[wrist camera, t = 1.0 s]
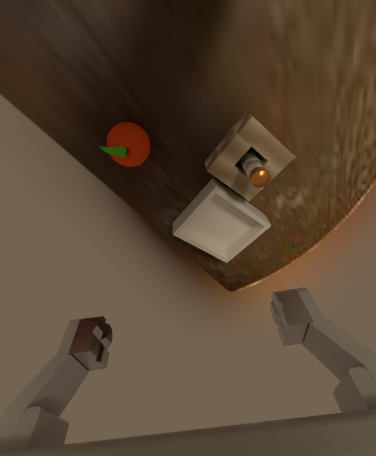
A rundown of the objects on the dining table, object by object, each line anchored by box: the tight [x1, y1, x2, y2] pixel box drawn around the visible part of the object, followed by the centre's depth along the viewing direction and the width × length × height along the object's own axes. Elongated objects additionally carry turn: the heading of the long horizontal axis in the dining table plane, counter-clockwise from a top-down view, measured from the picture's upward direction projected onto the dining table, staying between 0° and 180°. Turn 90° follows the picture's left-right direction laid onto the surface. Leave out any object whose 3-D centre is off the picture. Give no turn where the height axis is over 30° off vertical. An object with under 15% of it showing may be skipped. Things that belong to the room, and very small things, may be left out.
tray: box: [173, 178, 271, 263], centre depth 51 cm, size 14×16×4 cm
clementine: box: [99, 122, 150, 167], centre depth 37 cm, size 8×7×7 cm
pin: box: [239, 148, 271, 188], centre depth 39 cm, size 3×3×10 cm
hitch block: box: [204, 111, 295, 201], centre depth 42 cm, size 11×11×4 cm
